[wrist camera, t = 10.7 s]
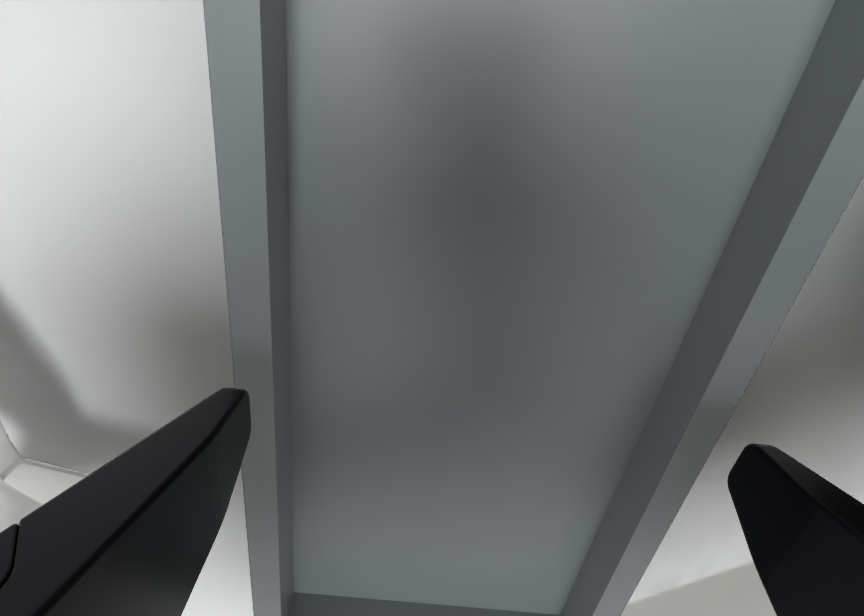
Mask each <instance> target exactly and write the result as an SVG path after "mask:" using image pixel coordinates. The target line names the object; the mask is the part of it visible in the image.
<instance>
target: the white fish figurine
mask: <svg viewBox="0 0 864 616" xmlns="http://www.w3.org/2000/svg"><path fill="white" fill-rule="evenodd" d="M88 475H90V474H87V473H83V472H79V471H75V470H71V469H67V468H64V467H60V466H56V465H52V464H48V463H44V462H40V461H36V460H32V459H28V458H24V457H23V456H22V455H21V454H20V453H19V452H18V450H17V449H16V448H15V446H14V445H13V444H12V442H11V441H10V439H9V437H8V435H7V433H6V431H5V429H4V427H3V425H2V423H1V421H0V532H2V531H3V530H5V529H6V528H8V527H9V526H11V525H12V524H18V525H19V522H20V520H21V519H22V518H23V517H25V516H27V515H28V514H30V513H31V512H33V511H34V510H36V509H37V508H39V507H40V506H42V505H43V504H45V503H47V502H48V501H50V500H51V499H53V498H54V497H56V496H57V495H59V494H60V493H62V492H63V491H65V490H66V489H68V488H70V487H71V486H73V485H74V484H76V483H77V482H79V481H80V480H82V479H83V478H85V477H86V476H88Z"/></svg>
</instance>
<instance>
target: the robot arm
mask: <svg viewBox="0 0 864 616" xmlns="http://www.w3.org/2000/svg"><path fill="white" fill-rule="evenodd" d="M250 434H251V413H250V398H249V394H248V392H247V391H246V390H244V389H235V388H222V389H220V390H218V391H217V392H215V393H214V394H212V395H211V396H209V397H208V398H206V399H205V400H203V401H202V402H200V403H199V404H197V405H195V406H194V407H192V408H191V409H189V410H188V411H186V412H185V413H183V414H182V415H180V416H179V417H177V418H175V419H174V420H172V421H171V422H169V423H168V424H166V425H165V426H163V427H162V428H160V429H159V430H157V431H156V432H154V433H152V434H151V435H149V436H148V437H146V438H145V439H143V440H142V441H140V442H139V443H137V444H136V445H134V446H132V447H131V448H129V449H128V450H126V451H125V452H123V453H122V454H120V455H119V456H117V457H116V458H114V459H113V460H111V461H109V462H108V463H106V464H105V465H103V466H102V467H100V468H99V469H97V470H96V471H94V472H93V473H91V474H90V475H88V476H86V477H85V478H83V479H82V480H80V481H79V482H77V483H76V484H74V485H73V486H71V487H70V488H68V489H66V490H65V491H63V492H62V493H60V494H59V495H57V496H56V497H54V498H53V499H51V500H50V501H48V502H47V503H45V504H43V505H42V506H40V507H39V508H37V509H36V510H34V511H33V512H31V513H30V514H28V515H27V516H25V517H23V518H22V519H21V520H20V522H19V525H18V524H12V525H11V526H9V527H8V528H6V529H5V530H3V531H2V532H0V616H181V614H182V612H183V610H184V608H185V605H186V603H187V601H188V599H189V596H190V594H191V592H192V590H193V588H194V585H195V583H196V581H197V579H198V576H199V574H200V572H201V570H202V567H203V565H204V563H205V561H206V559H207V556H208V554H209V552H210V550H211V547H212V545H213V543H214V541H215V538H216V536H217V534H218V532H219V529H220V527H221V524H222V522H223V519H224V516H225V513H226V511H227V508H228V505H229V501H230V498H231V495H232V492H233V489H234V486H235V483H236V479H237V476H238V473H239V470H240V467H241V464H242V461H243V457H244V454H245V451H246V448H247V445H248V442H249V438H250ZM728 488H729V491H730V494H731V497H732V500H733V503H734V506H735V509H736V512H737V515H738V517H739V520H740V523H741V526H742V529H743V532H744V535H745V538H746V541H747V544H748V547H749V550H750V553H751V556H752V558H753V561H754V564H755V567H756V569H757V572H758V574H759V576H760V579H761V581H762V584H763V586H764V588H765V590H766V593H767V595H768V597H769V599H770V602H771V604H772V606H773V608H774V610H775V612H776V615H777V616H864V504H862V503H861V502H859V501H858V500H856V499H855V498H853V497H852V496H850V495H849V494H847V493H846V492H844V491H842V490H841V489H839V488H838V487H836V486H835V485H833V484H832V483H830V482H829V481H827V480H826V479H824V478H823V477H821V476H819V475H818V474H816V473H815V472H813V471H812V470H810V469H809V468H807V467H806V466H804V465H803V464H801V463H800V462H798V461H797V460H795V459H793V458H792V457H790V456H789V455H787V454H786V453H784V452H783V451H781V450H780V449H778V448H776V447H774V446H771V445H764V444H749V445H747V446H746V447H745V448H744V449H743V451H742V453H741V454H740V456H739V458H738V459H737V461H736V463H735V464H734V466H733V468H732V469H731V471H730V473H729V476H728Z"/></svg>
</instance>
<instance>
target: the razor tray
mask: <svg viewBox="0 0 864 616" xmlns="http://www.w3.org/2000/svg"><path fill="white" fill-rule="evenodd" d="M203 4H204V16H205V28H206V41H207V53H208V65H209V77H210V89H211V101H212V114H213V126H214V138H215V150H216V162H217V174H218V187H219V199H220V211H221V223H222V235H223V247H224V260H225V272H226V284H227V296H228V308H229V320H230V333H231V345H232V357H233V369H234V381H235V389H244V390H246V391H247V392H248V394H249V398H250V413H251V434H250V438H249V442H248V445H247V448H246V451H245V454H244V457H243V461H242V464H241V467H242V479H243V491H244V503H245V515H246V527H247V540H248V552H249V564H250V576H251V588H252V600H253V613H254V616H621V614H622V612H623V610H624V608H625V607H626V605H627V603H628V601H629V599H630V598H631V596H632V594H633V592H634V590H635V589H636V587H637V585H638V583H639V581H640V580H641V578H642V576H643V574H644V572H645V570H646V569H647V567H648V565H649V563H650V561H651V560H652V558H653V556H654V554H655V552H656V551H657V549H658V547H659V545H660V543H661V542H662V540H663V538H664V536H665V534H666V532H667V531H668V529H669V527H670V525H671V523H672V522H673V520H674V518H675V516H676V514H677V513H678V511H679V509H680V507H681V505H682V504H683V502H684V500H685V498H686V496H687V494H688V493H689V491H690V489H691V487H692V485H693V484H694V482H695V480H696V478H697V476H698V475H699V473H700V471H701V469H702V467H703V466H704V464H705V462H706V460H707V458H708V457H709V455H710V453H711V451H712V449H713V447H714V446H715V444H716V442H717V440H718V438H719V437H720V435H721V433H722V431H723V429H724V428H725V426H726V424H727V422H728V420H729V419H730V417H731V415H732V413H733V411H734V409H735V408H736V406H737V404H738V402H739V400H740V399H741V397H742V395H743V393H744V391H745V390H746V388H747V386H748V384H749V382H750V381H751V379H752V377H753V375H754V373H755V371H756V370H757V368H758V366H759V364H760V362H761V361H762V359H763V357H764V355H765V353H766V352H767V350H768V348H769V346H770V344H771V343H772V341H773V339H774V337H775V335H776V333H777V332H778V330H779V328H780V326H781V324H782V323H783V321H784V319H785V317H786V315H787V314H788V312H789V310H790V308H791V306H792V305H793V303H794V301H795V299H796V297H797V296H798V294H799V292H800V290H801V288H802V286H803V285H804V283H805V281H806V279H807V277H808V276H809V274H810V272H811V270H812V268H813V267H814V265H815V263H816V261H817V259H818V258H819V256H820V254H821V252H822V250H823V248H824V247H825V245H826V243H827V241H828V239H829V238H830V236H831V234H832V232H833V230H834V229H835V227H836V225H837V223H838V221H839V220H840V218H841V216H842V214H843V212H844V210H845V209H846V207H847V205H848V203H849V201H850V200H851V198H852V196H853V194H854V192H855V191H856V189H857V187H858V185H859V183H860V182H861V180H862V178H863V176H864V0H203Z"/></svg>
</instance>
